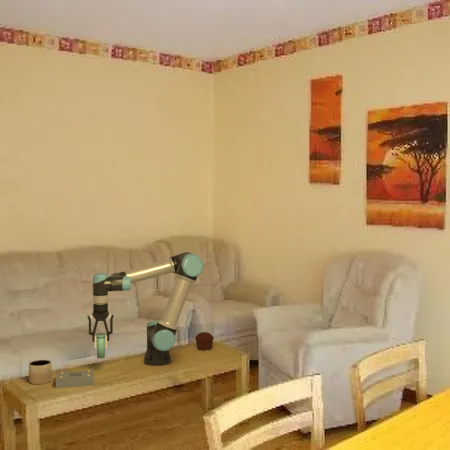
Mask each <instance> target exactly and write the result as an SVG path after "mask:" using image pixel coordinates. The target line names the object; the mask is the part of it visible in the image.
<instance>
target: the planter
mask: <svg viewBox="0 0 450 450" xmlns="http://www.w3.org/2000/svg"><path fill="white" fill-rule="evenodd" d="M52 373H53V372H52V360H50V359H49V360H48V359H37V360H32V361H30V362H29V363H28V382H29V383H30V384H31V385H46V384H48V383H50V382H51V381H52V380H53V379H52V378H53V377H52V376H53V375H52Z"/></svg>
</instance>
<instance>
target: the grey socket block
mask: <svg viewBox="0 0 450 450" xmlns="http://www.w3.org/2000/svg"><path fill="white" fill-rule="evenodd" d="M94 372H95V371H94V369H89V370H88V369H87V370H86V369H85V370H74V371H61V372H60V371H59V372H56V376H55V388H56V389H57V388H58V389H60V388H71V387H72V388H73V387H85V386H94V385H95V382H94V381H95V378H94V375H95V373H94Z"/></svg>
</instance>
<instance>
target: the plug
mask: <svg viewBox="0 0 450 450" xmlns="http://www.w3.org/2000/svg"><path fill="white" fill-rule="evenodd" d="M105 334H106V333H104V332H103V333H95V335H96V358H97V359H105V357H106V351H105V350H106V348H105Z"/></svg>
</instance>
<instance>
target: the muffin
mask: <svg viewBox="0 0 450 450" xmlns="http://www.w3.org/2000/svg"><path fill="white" fill-rule="evenodd" d="M194 339H195V342H196V349H198V350H197V351H200V350H202V351H201V352H206V351H205V350H209V351H211V350H210V349H212V348H213V342H214V340H215V338H214V336H213V334H211V332H208V331H202V332H199V333H198V334H196V336H195V338H194Z"/></svg>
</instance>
